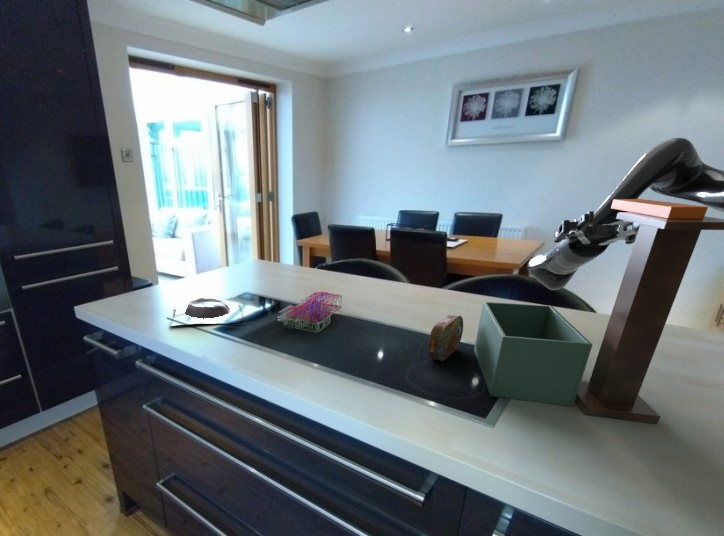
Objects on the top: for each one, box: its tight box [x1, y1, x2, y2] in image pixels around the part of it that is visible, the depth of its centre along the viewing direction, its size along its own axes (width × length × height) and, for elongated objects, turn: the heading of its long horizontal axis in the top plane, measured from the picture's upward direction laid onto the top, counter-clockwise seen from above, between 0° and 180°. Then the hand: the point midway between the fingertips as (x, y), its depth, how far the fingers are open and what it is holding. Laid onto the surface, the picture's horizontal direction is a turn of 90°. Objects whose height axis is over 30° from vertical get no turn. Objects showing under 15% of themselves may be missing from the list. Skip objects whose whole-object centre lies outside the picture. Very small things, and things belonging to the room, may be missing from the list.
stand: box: [574, 212, 724, 425], centre depth 63 cm, size 10×14×32 cm
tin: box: [427, 314, 464, 362], centre depth 88 cm, size 15×3×8 cm, turn 137°
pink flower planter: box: [277, 291, 343, 334], centre depth 117 cm, size 30×15×5 cm, turn 150°
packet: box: [611, 198, 709, 219], centre depth 62 cm, size 4×18×2 cm, turn 162°
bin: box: [473, 301, 594, 407], centre depth 78 cm, size 13×21×12 cm, turn 162°
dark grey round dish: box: [185, 297, 230, 319], centre depth 120 cm, size 21×20×4 cm
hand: (619, 215), depth 71 cm, fingers open, 8 cm apart
